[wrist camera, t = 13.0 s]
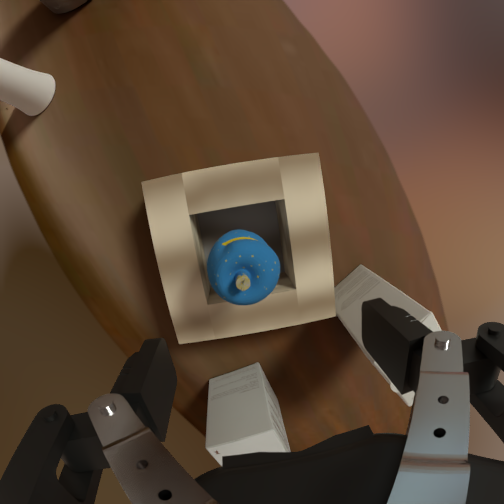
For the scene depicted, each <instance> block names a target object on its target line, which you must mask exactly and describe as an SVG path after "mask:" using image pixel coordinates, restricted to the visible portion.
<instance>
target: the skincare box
mask: <svg viewBox="0 0 504 504" xmlns="http://www.w3.org/2000/svg"><path fill="white" fill-rule="evenodd" d="M334 293H335V310H336V315H337V316H338V318H339V319H340V321H341V322H342V323H343V325H344V326H345V328H346V329H347V330H348V332H349V333H350V335H351V336H352V337H353V339H354V340H355V341H356V343H357V344H358V346H359V347H360V348H361V350H362V351H363V352H364V354H365V355H366V356H367V358H368V359H369V360H370V361H371V363H372V364H373V365H374V366H375V368H376V369H377V370H378V371H379V372H380V374H381V375H382V376H383V377H384V378H385V380H386V381H387V382H388V383H389V384H390V387H391V389H392V390H393V391H394V392H396V393H397V394H398V395H399V396H400V397H401V398H402V400H403V401H404V402H405V403H406V404H407V405H408V406H409V407H410V406H411V405H412V404H413V399H414V395H415V393H414V391H411V392H408V393H406V394H403V395H401V393H400V392H399V391H398V389H397V388H396V387H395V386H394V384H393V383H392V382H391V381H390V379H389V378H388V377H387V375H386V374H385V373H384V372H383V370H382V369H381V368H380V367H379V365H378V364H377V363H376V362H375V360H374V359H373V358H372V357H371V355H370V354H369V353H368V352H367V350H366V349H365V347H364V345H363V342H362V312H361V307H362V303H363V302H364V301H368V300H372V299H375V298H382V299H383V300H384V301H386V302H387V303H388V304H389V305H391V306H396V307H399V308H402V309H404V310H405V311H407V312H408V313H409V314H411V316H413V317H415V318H416V320H418V321H420V322H421V323H422V324H424V325H425V326H426V327H427V328H429V329H430V330H431V331H433V332H435V331H442V330H441V328H440V326H439V324H438V322H437V321H436V319H435V317H434V315H433V313H432V312H430V311H428V310H427V309H426V308H424V307H423V306H421V305H420V304H419V303H417V302H416V301H414V300H413V299H411V298H410V297H409V296H407V295H406V294H404V293H403V292H401V291H400V290H398V289H397V288H396V287H394V286H393V285H391V284H390V283H388V282H387V281H385V280H384V279H382V278H381V277H379V276H378V275H376V274H375V273H373V272H372V271H370V270H369V269H367V268H366V267H364V266H363V265H359V266H358V267H357V268H356V269H355V270H354V271H352V272H351V273H350V274H349V275H348V276H347V277H346V278H345V279H344V280H342V281H341V282H340V283H339V284H338V285H337V286H336V287H334Z"/></svg>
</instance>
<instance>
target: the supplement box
mask: <svg viewBox="0 0 504 504" xmlns="http://www.w3.org/2000/svg"><path fill="white" fill-rule="evenodd" d="M205 448H206V449H207V450H208V451H209V453H210V454H211V455H212V456H213V457H214V458H215V459H216V460H217V462H218V463H220V465H221V466H222V456H231V455H239V454H247V453H254V452H290V448H289V444H288V440H287V436H286V432H285V428H284V424H283V420H282V416H281V412H280V407H279V403H278V399H277V397H276V395H275V394H274V392H273V390H272V388H271V386H270V384H269V382H268V380H267V378H266V376H265V374H264V372H263V370H262V368H261V366H260V364H259V363H255V364H252V365H250V366H247V367H244V368H241V369H239V370H236V371H233V372H230V373H227V374H224V375H221V376H218V377H215V378H212V379H209V391H208V408H207V426H206V446H205Z"/></svg>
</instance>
